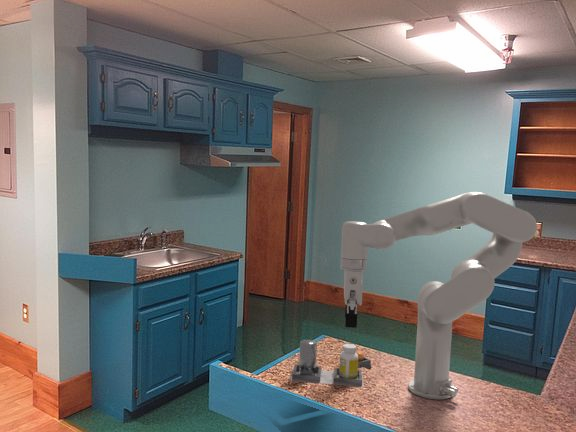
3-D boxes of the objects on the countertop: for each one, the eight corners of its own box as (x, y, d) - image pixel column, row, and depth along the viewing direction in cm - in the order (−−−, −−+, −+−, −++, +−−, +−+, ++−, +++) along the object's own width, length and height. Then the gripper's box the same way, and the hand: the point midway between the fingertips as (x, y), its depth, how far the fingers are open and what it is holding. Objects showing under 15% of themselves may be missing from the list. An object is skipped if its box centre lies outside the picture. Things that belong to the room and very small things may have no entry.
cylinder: (318, 376, 146) (320, 343, 145) (304, 379, 143) (306, 346, 143) (309, 370, 150) (310, 338, 150) (295, 373, 148) (296, 340, 147)
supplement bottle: (358, 376, 147) (360, 344, 147) (355, 383, 142) (357, 350, 141) (341, 373, 149) (342, 342, 148) (336, 380, 144) (338, 347, 143)
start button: (366, 359, 158) (366, 353, 158) (357, 361, 156) (357, 355, 156) (359, 355, 161) (359, 350, 161) (350, 357, 159) (350, 351, 159)
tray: (362, 377, 150) (362, 368, 150) (363, 390, 140) (364, 381, 140) (293, 371, 152) (293, 363, 152) (290, 384, 142) (290, 375, 142)
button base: (371, 368, 158) (371, 360, 158) (356, 371, 155) (357, 363, 155) (359, 361, 163) (359, 354, 163) (344, 364, 160) (345, 357, 160)
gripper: (368, 270, 134) (365, 332, 135) (365, 260, 151) (362, 315, 153) (340, 268, 135) (337, 330, 136) (340, 258, 152) (337, 314, 153)
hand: (350, 322), depth 144 cm, fingers open, 8 cm apart
